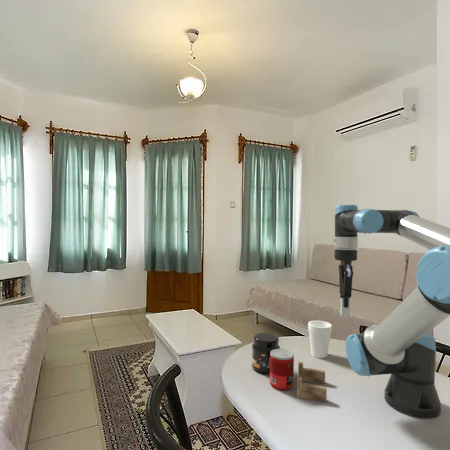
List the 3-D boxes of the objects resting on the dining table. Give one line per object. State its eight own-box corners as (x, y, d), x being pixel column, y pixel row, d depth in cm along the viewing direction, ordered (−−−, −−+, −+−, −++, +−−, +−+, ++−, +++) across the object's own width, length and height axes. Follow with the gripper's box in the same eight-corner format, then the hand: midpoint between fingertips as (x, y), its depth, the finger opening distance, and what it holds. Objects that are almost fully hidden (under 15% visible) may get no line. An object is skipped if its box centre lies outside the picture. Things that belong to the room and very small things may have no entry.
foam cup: (303, 351, 140) (304, 321, 139) (322, 349, 142) (322, 319, 142) (316, 361, 131) (316, 328, 130) (335, 358, 133) (336, 326, 133)
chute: (324, 381, 114) (325, 364, 114) (326, 401, 101) (326, 382, 101) (298, 378, 116) (298, 361, 116) (296, 397, 104) (297, 378, 104)
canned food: (291, 392, 107) (292, 359, 106) (267, 388, 109) (268, 355, 109) (294, 381, 114) (295, 350, 114) (271, 377, 116) (272, 347, 116)
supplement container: (248, 363, 128) (248, 333, 127) (273, 361, 130) (273, 331, 130) (256, 376, 117) (257, 343, 117) (284, 373, 120) (284, 341, 120)
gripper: (331, 247, 122) (330, 310, 122) (337, 250, 109) (337, 320, 109) (352, 247, 121) (352, 311, 121) (361, 250, 108) (360, 321, 108)
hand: (344, 315), depth 115 cm, fingers closed
